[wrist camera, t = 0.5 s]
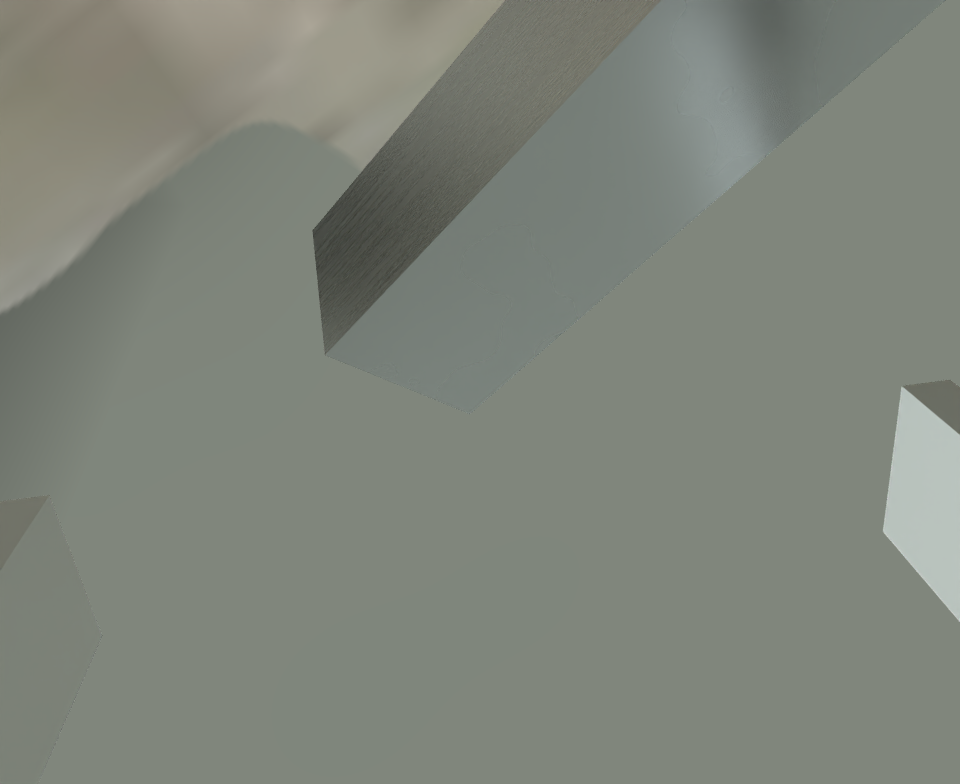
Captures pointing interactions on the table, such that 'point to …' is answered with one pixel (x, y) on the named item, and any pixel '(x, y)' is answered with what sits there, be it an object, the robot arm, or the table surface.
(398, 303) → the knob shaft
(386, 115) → the table surface
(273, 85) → the table surface
